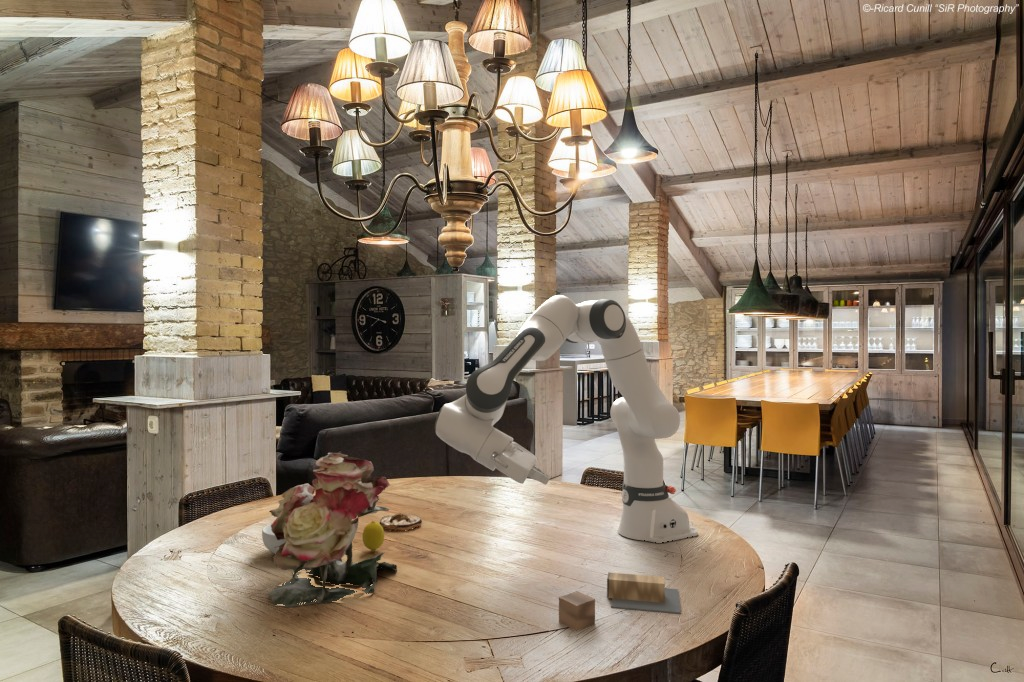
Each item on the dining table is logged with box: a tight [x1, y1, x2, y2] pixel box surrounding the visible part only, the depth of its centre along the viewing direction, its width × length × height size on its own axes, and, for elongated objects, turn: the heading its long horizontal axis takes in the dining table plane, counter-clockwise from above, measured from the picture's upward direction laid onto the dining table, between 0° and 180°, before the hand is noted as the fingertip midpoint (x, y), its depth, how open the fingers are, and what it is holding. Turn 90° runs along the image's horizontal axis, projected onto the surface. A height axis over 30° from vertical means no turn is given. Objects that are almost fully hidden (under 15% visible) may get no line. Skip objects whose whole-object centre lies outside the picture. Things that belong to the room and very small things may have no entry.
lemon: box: [362, 520, 385, 552], centre depth 165 cm, size 6×6×8 cm
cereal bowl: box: [261, 523, 291, 557], centre depth 164 cm, size 17×17×7 cm
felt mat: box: [610, 587, 682, 615], centre depth 135 cm, size 14×12×1 cm
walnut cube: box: [558, 590, 596, 632], centre depth 124 cm, size 5×5×5 cm
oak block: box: [606, 572, 666, 603], centre depth 136 cm, size 4×4×12 cm
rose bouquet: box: [268, 452, 398, 608], centre depth 142 cm, size 26×29×30 cm
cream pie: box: [379, 512, 423, 532], centre depth 188 cm, size 15×15×4 cm
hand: (548, 480), depth 145 cm, fingers closed
